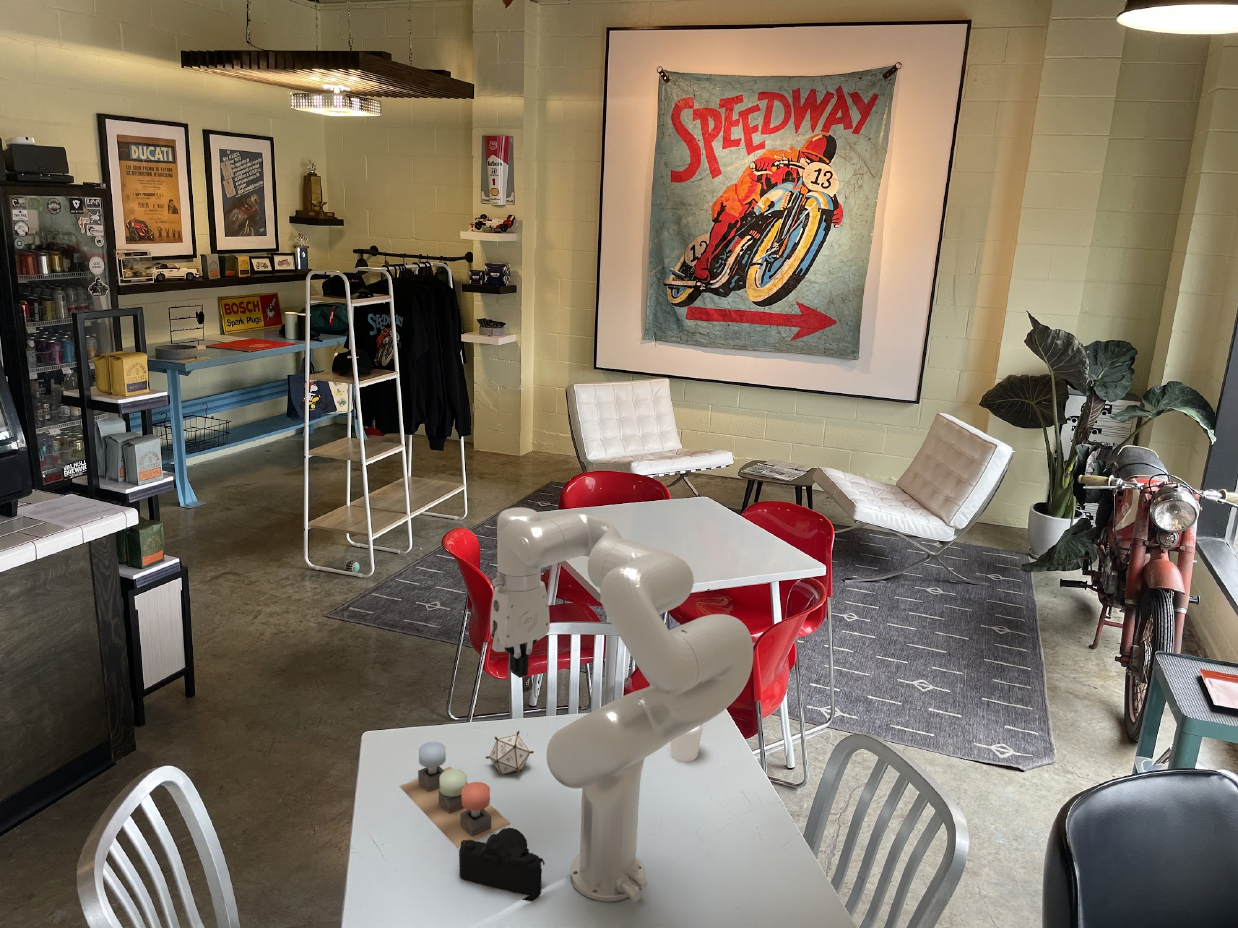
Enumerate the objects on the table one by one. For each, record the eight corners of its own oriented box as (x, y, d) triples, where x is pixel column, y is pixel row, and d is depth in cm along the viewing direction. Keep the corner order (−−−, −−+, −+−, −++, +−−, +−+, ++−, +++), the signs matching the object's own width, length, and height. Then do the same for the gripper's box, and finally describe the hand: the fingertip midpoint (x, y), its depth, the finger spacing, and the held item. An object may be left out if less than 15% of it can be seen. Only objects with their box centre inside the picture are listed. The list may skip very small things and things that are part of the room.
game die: (516, 792, 186) (529, 773, 179) (477, 777, 185) (488, 757, 178) (529, 751, 192) (542, 732, 185) (491, 736, 192) (502, 716, 184)
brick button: (495, 816, 167) (495, 791, 166) (470, 826, 164) (470, 802, 162) (480, 802, 171) (480, 778, 169) (456, 812, 167) (456, 788, 166)
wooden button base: (510, 829, 169) (510, 811, 168) (457, 853, 163) (457, 834, 162) (450, 771, 186) (449, 754, 185) (399, 791, 179) (399, 774, 178)
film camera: (556, 868, 160) (557, 823, 158) (536, 906, 151) (537, 860, 149) (475, 848, 164) (475, 804, 162) (451, 885, 155) (450, 839, 153)
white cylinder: (664, 759, 193) (666, 729, 191) (672, 742, 199) (674, 713, 197) (696, 766, 191) (698, 736, 189) (703, 748, 197) (705, 719, 195)
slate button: (450, 773, 179) (450, 750, 177) (427, 782, 176) (426, 759, 174) (437, 761, 182) (437, 738, 181) (414, 770, 179) (414, 747, 178)
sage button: (472, 801, 173) (472, 778, 172) (448, 811, 170) (448, 788, 169) (458, 788, 177) (458, 765, 176) (434, 798, 174) (434, 775, 172)
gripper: (494, 595, 155) (495, 694, 160) (566, 575, 164) (565, 669, 169) (470, 581, 160) (472, 677, 165) (541, 563, 170) (540, 654, 175)
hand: (519, 673), depth 167 cm, fingers closed
